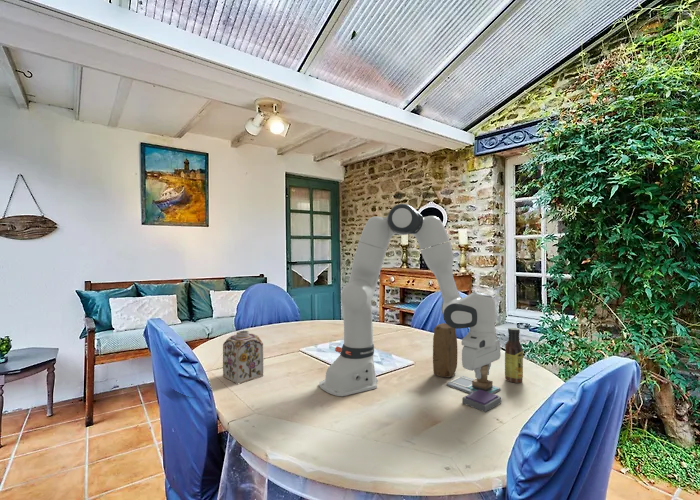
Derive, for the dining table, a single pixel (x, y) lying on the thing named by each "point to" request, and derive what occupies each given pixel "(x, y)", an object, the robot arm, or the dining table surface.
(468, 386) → the board
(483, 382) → the stamp
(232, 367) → the decorative jar
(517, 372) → the sauce bottle
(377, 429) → the dining table surface
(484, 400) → the ink pad
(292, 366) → the dining table surface
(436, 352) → the block
